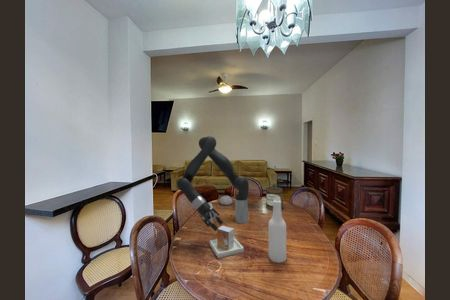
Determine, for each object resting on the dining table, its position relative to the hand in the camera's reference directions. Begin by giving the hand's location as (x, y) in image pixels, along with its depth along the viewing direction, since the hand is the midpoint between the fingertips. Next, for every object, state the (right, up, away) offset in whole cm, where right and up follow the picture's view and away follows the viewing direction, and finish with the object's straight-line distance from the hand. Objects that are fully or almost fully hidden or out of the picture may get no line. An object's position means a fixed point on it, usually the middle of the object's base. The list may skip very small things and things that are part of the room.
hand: (219, 226), depth 111 cm
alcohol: (+30, -12, -11) cm, 34 cm away
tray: (+4, -12, -1) cm, 13 cm away
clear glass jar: (+49, -9, +66) cm, 82 cm away
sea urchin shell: (+4, -10, +81) cm, 81 cm away
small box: (+4, -11, -1) cm, 12 cm away
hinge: (-10, -11, +53) cm, 55 cm away
